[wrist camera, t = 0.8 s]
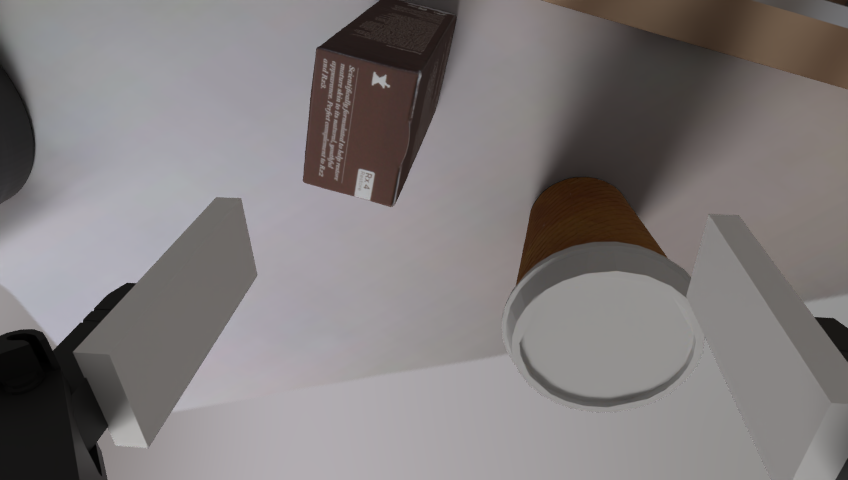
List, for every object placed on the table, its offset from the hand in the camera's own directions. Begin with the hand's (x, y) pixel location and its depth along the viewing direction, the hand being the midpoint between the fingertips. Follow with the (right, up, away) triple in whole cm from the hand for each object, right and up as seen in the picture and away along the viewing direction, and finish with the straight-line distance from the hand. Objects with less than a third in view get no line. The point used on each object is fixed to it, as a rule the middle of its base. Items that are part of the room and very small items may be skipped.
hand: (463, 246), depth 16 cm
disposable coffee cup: (+9, +1, +20) cm, 22 cm away
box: (-2, +11, +16) cm, 20 cm away
